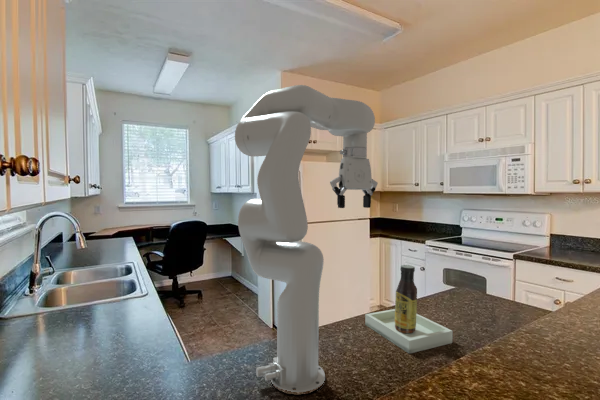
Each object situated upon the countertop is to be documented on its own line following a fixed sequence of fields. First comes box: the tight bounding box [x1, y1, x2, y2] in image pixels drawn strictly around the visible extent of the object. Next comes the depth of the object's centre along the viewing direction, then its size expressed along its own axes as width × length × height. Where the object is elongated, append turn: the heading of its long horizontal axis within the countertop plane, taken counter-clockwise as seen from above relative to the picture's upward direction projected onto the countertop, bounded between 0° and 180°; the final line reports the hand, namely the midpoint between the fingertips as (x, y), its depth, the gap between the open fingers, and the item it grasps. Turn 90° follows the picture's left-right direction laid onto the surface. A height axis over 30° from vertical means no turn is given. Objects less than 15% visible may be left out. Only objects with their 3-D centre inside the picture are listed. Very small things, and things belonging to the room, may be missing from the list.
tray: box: [364, 308, 454, 355], centre depth 95 cm, size 16×20×4 cm
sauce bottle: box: [394, 264, 418, 333], centre depth 95 cm, size 7×6×20 cm
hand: (354, 207), depth 100 cm, fingers open, 9 cm apart
